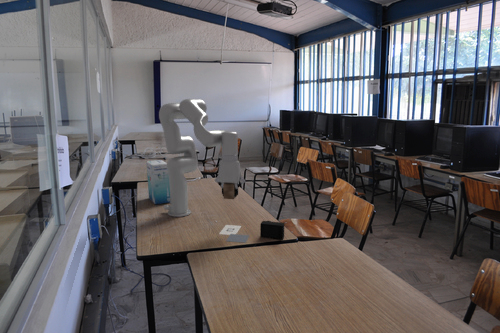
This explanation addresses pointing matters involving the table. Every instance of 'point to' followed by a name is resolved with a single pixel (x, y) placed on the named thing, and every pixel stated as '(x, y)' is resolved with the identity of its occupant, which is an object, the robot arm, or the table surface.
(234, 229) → the card
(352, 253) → the table surface
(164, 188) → the toothbrush box
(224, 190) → the walnut block
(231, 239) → the rubber mat
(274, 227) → the digital camera
